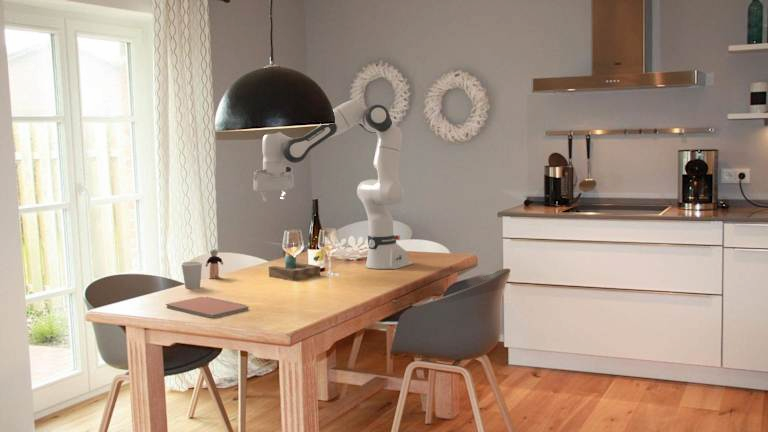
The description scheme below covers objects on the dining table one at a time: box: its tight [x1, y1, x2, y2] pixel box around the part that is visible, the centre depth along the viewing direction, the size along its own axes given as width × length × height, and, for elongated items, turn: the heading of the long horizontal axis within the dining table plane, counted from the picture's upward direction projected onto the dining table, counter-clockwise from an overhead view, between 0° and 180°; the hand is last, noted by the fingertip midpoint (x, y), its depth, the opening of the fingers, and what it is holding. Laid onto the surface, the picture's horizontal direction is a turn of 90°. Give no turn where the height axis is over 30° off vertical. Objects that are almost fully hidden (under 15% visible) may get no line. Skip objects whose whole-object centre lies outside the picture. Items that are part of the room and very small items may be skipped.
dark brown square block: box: [268, 261, 321, 282], centre depth 346 cm, size 15×16×4 cm
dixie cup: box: [180, 260, 203, 290], centre depth 324 cm, size 8×8×10 cm
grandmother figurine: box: [204, 247, 224, 280], centre depth 344 cm, size 8×4×13 cm, turn 131°
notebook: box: [165, 296, 249, 319], centre depth 288 cm, size 27×17×2 cm, turn 49°
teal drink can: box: [284, 252, 297, 269], centre depth 348 cm, size 5×5×10 cm
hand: (274, 200), depth 357 cm, fingers open, 8 cm apart
